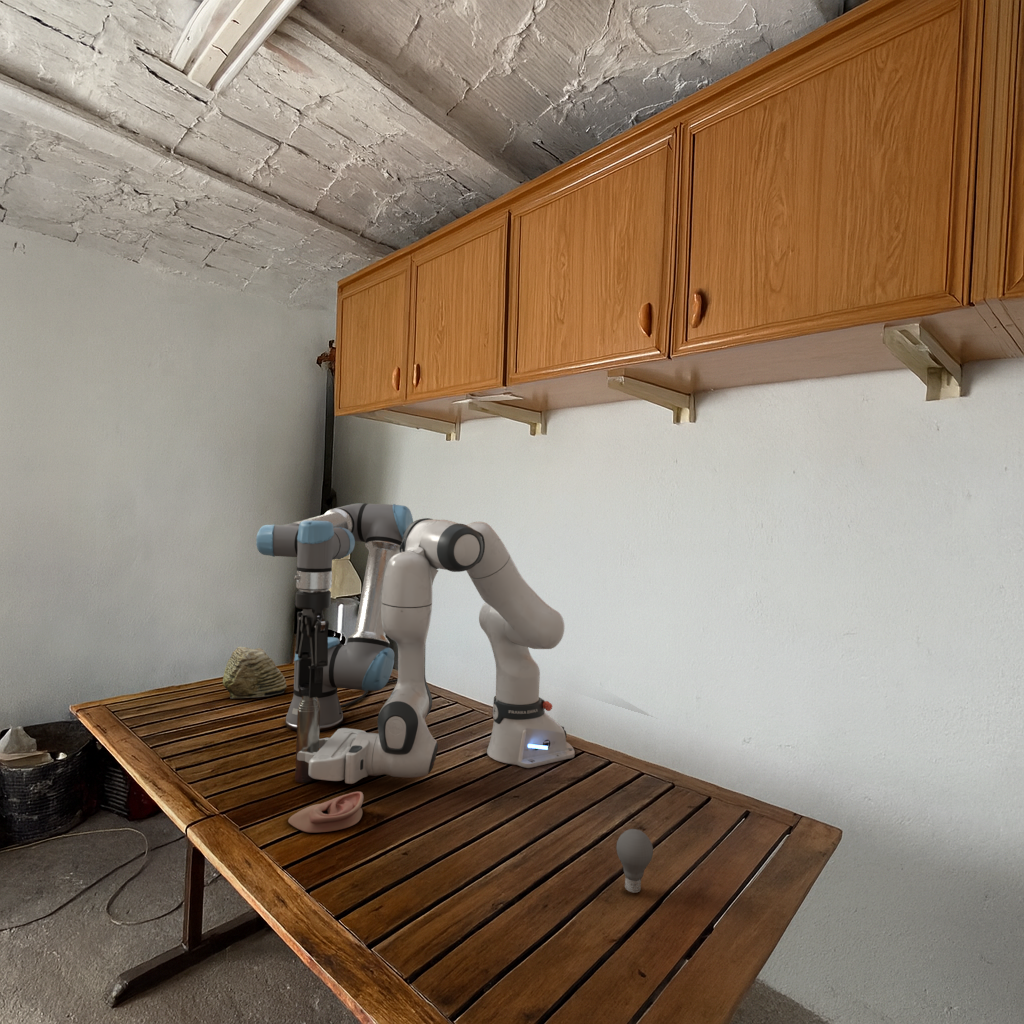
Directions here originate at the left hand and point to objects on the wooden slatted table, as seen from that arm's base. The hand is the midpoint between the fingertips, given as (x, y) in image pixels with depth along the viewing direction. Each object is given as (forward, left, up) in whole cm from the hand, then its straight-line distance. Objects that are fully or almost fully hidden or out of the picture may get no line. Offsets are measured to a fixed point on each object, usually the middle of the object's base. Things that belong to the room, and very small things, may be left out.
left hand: (309, 691), depth 142 cm
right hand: (+1, -1, -13) cm, 13 cm away
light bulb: (-13, +75, -20) cm, 78 cm away
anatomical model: (+8, +19, -20) cm, 28 cm away
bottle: (0, 0, -20) cm, 20 cm away
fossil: (-22, -62, -20) cm, 68 cm away
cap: (0, 0, +1) cm, 1 cm away
